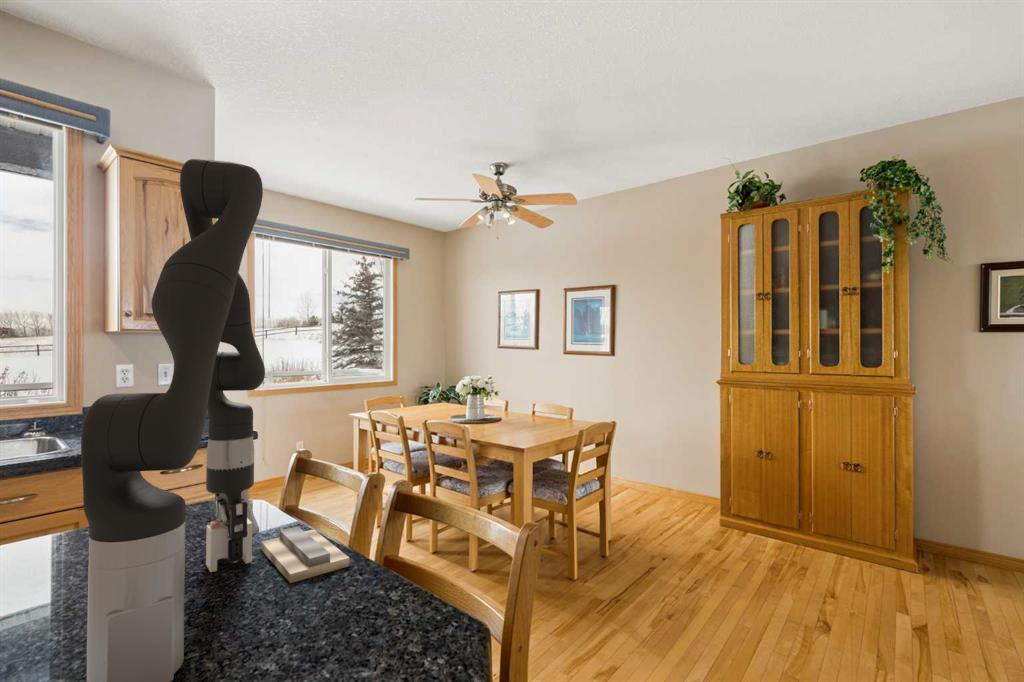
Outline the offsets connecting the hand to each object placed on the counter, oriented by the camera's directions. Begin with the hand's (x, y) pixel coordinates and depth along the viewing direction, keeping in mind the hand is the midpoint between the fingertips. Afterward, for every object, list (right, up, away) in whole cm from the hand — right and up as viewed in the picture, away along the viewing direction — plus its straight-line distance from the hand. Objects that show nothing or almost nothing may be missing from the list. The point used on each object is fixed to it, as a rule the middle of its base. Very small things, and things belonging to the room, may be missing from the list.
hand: (229, 552), depth 90 cm
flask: (-6, -2, +14) cm, 16 cm away
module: (0, -2, 0) cm, 2 cm away
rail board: (+12, -2, +2) cm, 13 cm away
